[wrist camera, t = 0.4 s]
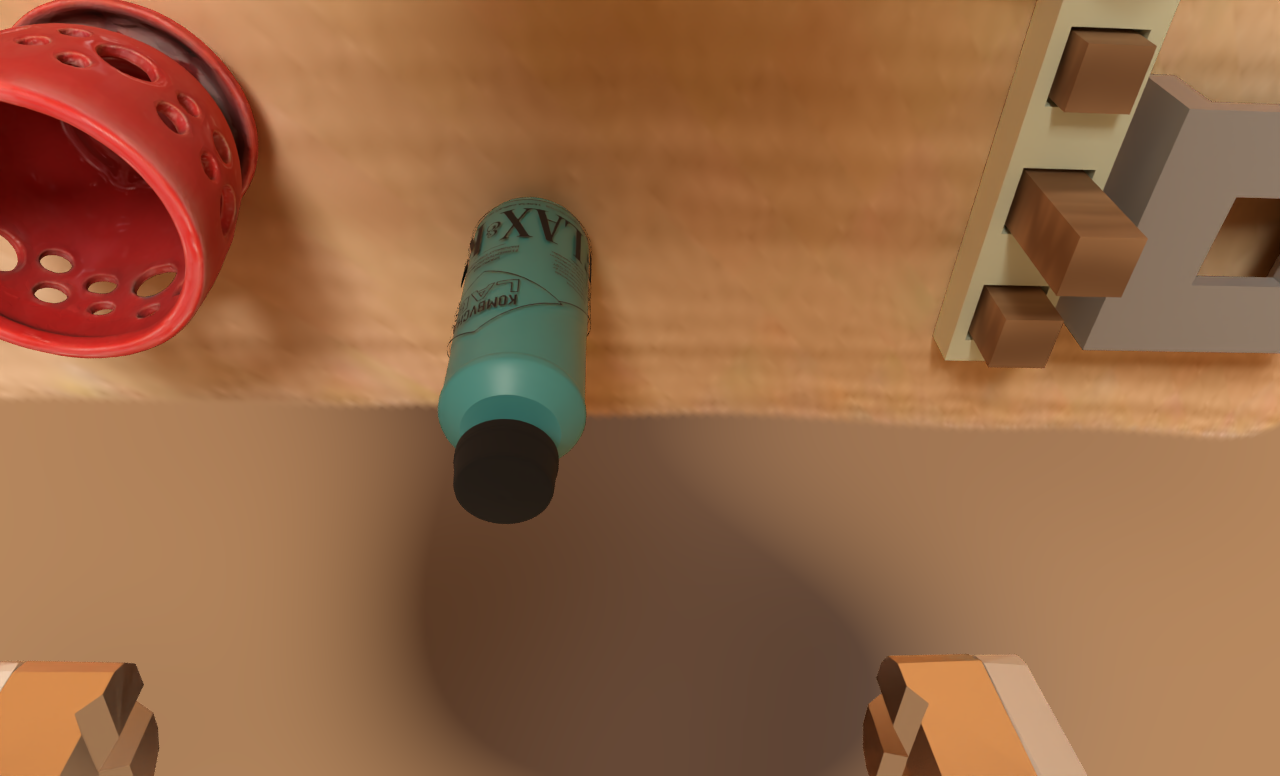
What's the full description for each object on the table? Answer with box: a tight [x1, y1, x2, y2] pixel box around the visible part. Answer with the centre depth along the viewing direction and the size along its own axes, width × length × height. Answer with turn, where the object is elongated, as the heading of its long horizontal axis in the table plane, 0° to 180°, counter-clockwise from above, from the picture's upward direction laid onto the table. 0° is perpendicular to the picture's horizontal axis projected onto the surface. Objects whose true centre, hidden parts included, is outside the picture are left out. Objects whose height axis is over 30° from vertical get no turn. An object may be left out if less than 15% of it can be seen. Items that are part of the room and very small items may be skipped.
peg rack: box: [933, 0, 1180, 361], centre depth 48 cm, size 21×5×2 cm, turn 177°
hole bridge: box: [1055, 74, 1280, 353], centre depth 49 cm, size 14×14×4 cm
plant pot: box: [0, 0, 258, 358], centre depth 41 cm, size 13×13×12 cm
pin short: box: [1048, 26, 1157, 115], centre depth 44 cm, size 3×3×4 cm
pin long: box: [1005, 168, 1148, 298], centre depth 46 cm, size 3×3×9 cm
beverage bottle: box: [438, 197, 592, 524], centre depth 42 cm, size 6×7×20 cm
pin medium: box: [968, 285, 1064, 368], centre depth 52 cm, size 3×3×6 cm
